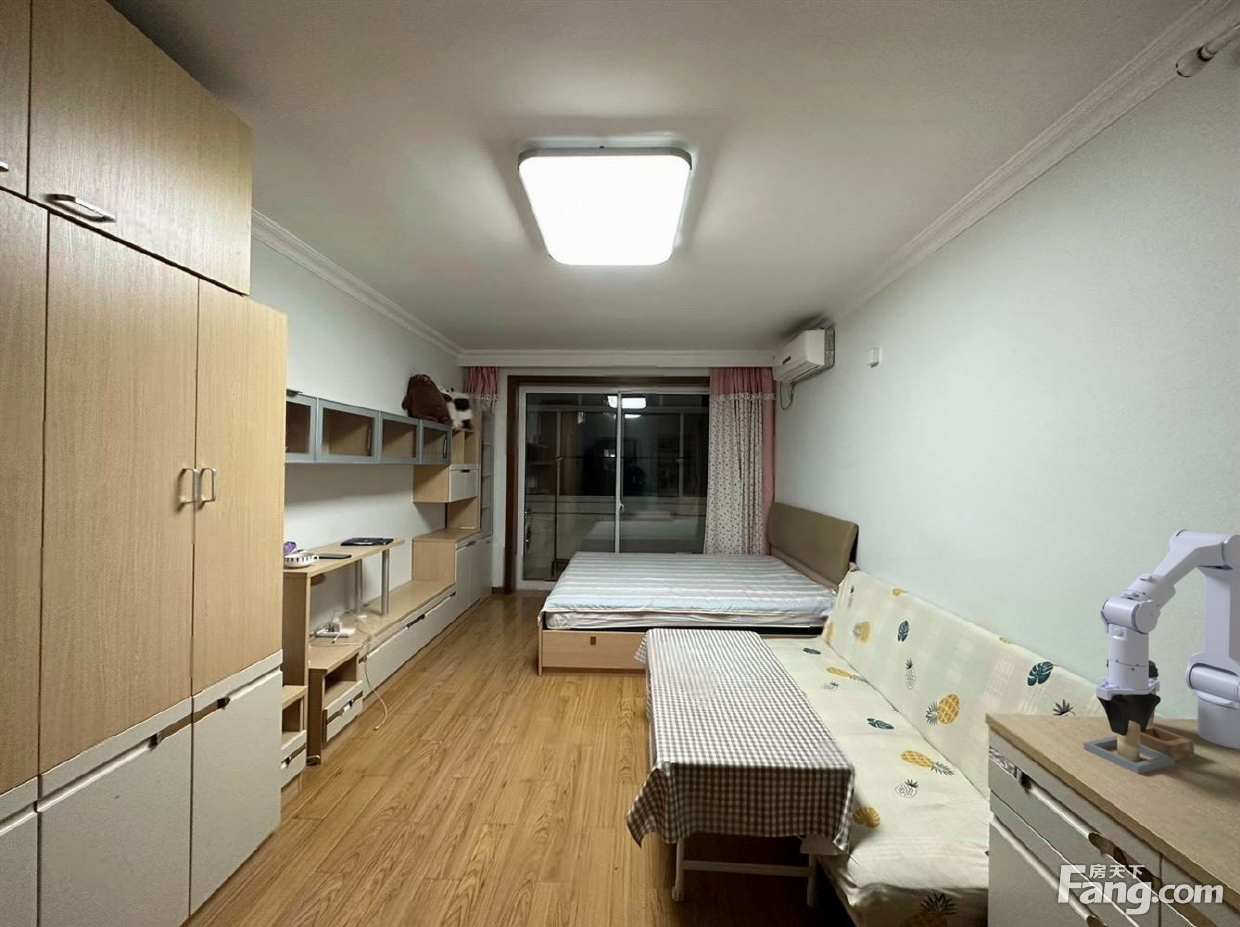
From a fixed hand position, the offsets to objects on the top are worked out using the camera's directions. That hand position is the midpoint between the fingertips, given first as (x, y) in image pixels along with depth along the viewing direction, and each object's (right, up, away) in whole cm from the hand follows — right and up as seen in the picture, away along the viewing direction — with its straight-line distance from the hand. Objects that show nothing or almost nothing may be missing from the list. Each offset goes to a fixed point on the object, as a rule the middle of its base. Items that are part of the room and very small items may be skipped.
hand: (1128, 731), depth 106 cm
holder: (+9, -6, +3) cm, 11 cm away
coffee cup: (+13, -6, +13) cm, 20 cm away
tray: (0, -6, 0) cm, 6 cm away
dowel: (0, -5, 0) cm, 5 cm away
